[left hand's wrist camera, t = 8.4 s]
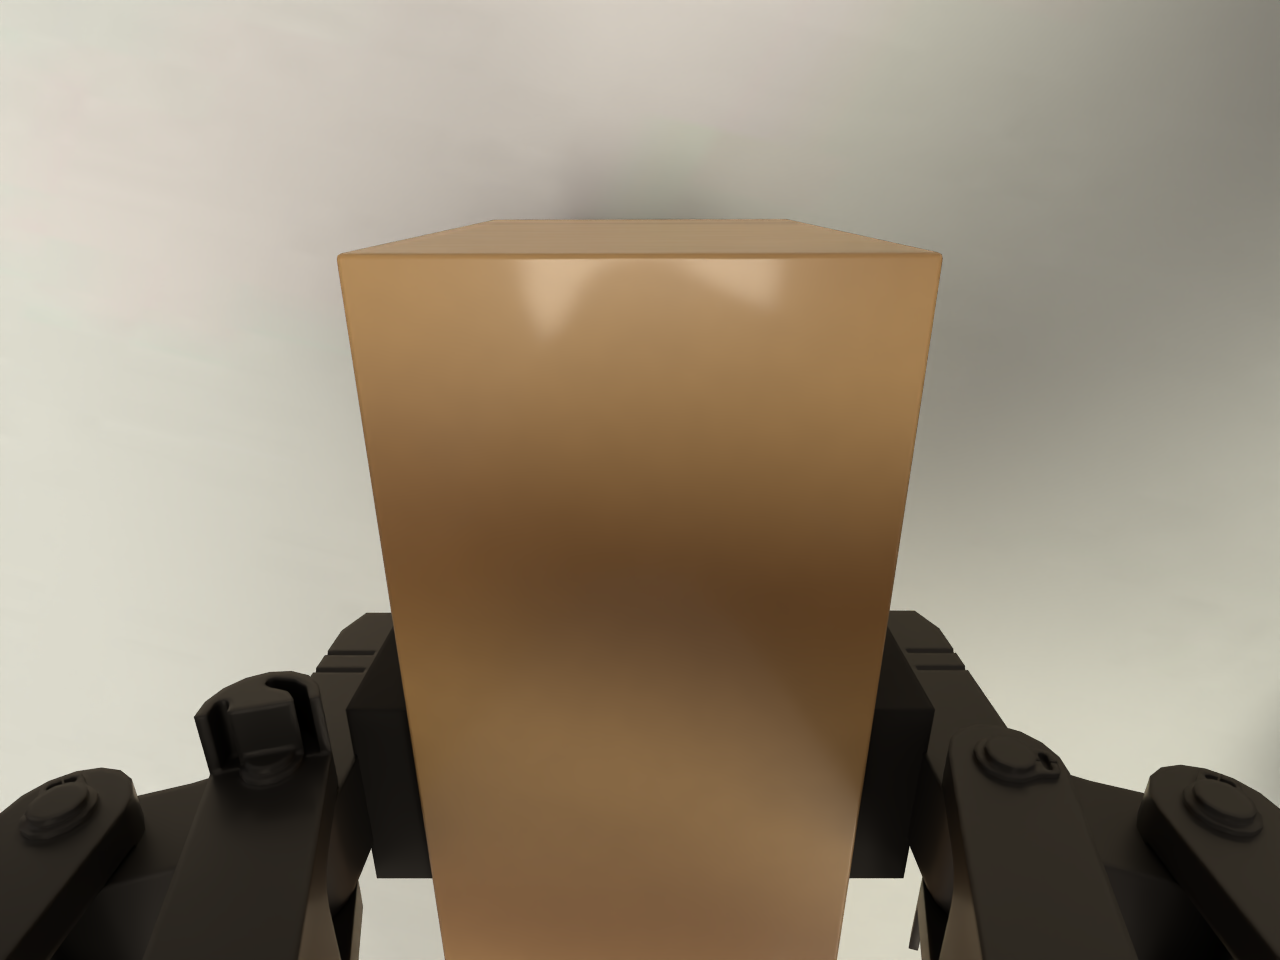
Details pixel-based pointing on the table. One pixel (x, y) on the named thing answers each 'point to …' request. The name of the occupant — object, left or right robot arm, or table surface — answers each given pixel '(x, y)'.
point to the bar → (640, 567)
